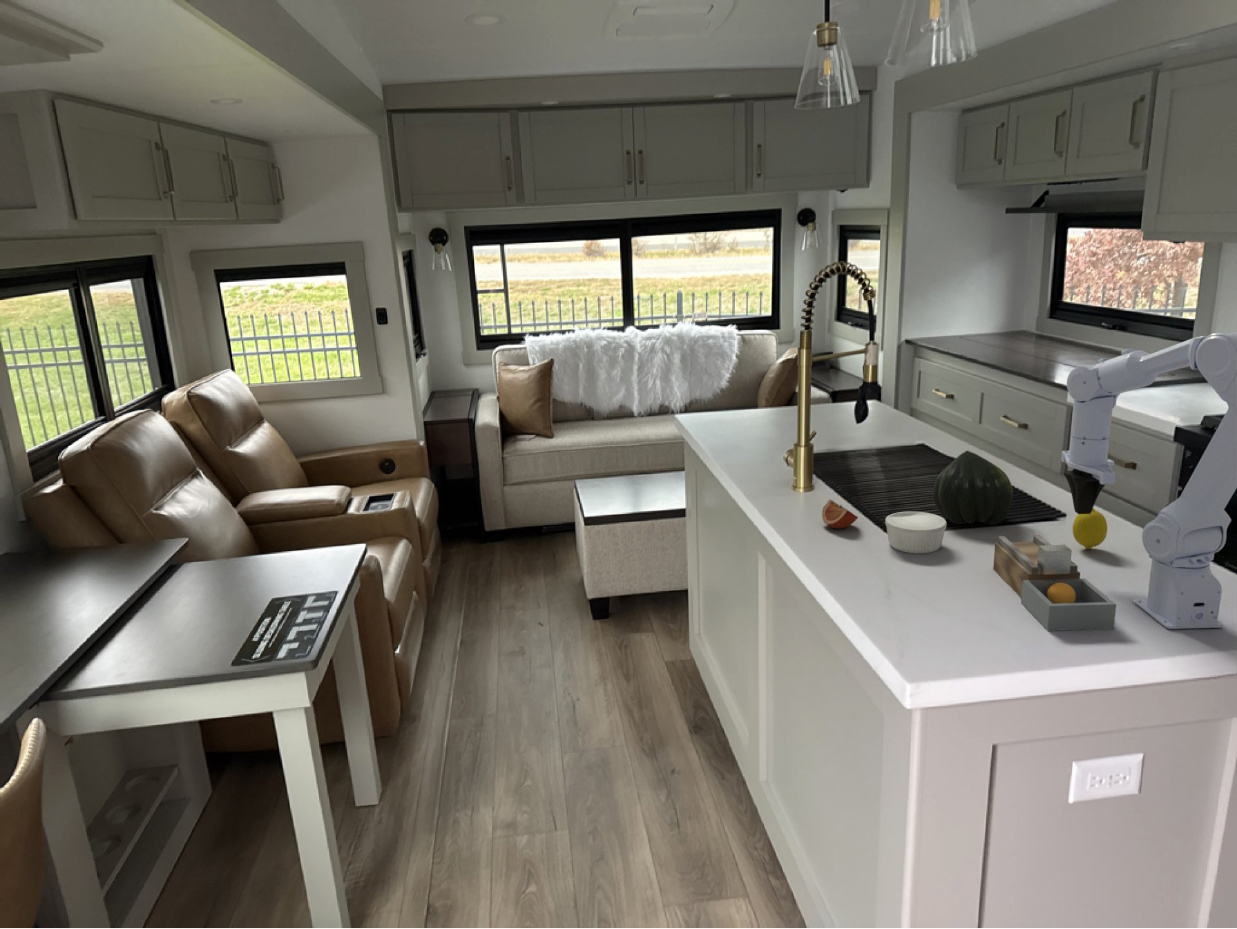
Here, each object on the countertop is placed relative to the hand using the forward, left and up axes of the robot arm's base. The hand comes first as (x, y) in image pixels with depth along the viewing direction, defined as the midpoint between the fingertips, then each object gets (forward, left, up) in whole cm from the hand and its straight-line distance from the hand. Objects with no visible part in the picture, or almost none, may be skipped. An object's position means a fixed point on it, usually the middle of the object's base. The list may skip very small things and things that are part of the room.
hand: (1082, 512), depth 142 cm
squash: (+27, +9, -11) cm, 30 cm away
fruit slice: (+26, +36, -11) cm, 46 cm away
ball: (-16, +10, -8) cm, 20 cm away
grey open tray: (-18, +10, -10) cm, 23 cm away
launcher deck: (-6, +10, -10) cm, 16 cm away
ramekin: (+14, +24, -11) cm, 30 cm away
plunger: (-13, +10, -5) cm, 17 cm away
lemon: (+9, -6, -11) cm, 15 cm away
